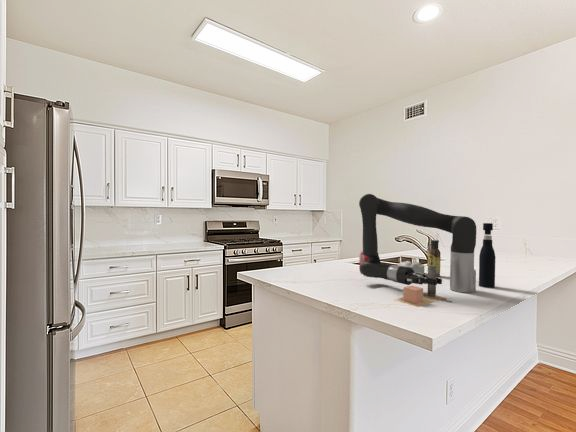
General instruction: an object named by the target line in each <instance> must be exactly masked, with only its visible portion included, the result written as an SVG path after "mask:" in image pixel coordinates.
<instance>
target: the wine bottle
mask: <svg viewBox="0 0 576 432" xmlns="http://www.w3.org/2000/svg"><path fill="white" fill-rule="evenodd" d="M493 229H494V223H493V222H492V223H489V222H487V223H485V222H483V223H482V230H483V231H484V235H483V239H482V246H481V249H480V252H479V255H478V257H479V260H478V261H479V262H478V263H479V264H478V287H480V288H481V287H482V288H487V289H494V288H495V287H496V253H495V249H494V247H493V237H492V231H494V230H493Z"/></svg>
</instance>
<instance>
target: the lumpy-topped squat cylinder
mask: <svg viewBox="0 0 576 432" xmlns="http://www.w3.org/2000/svg"><path fill="white" fill-rule="evenodd" d="M397 265H399V266H404V267H410V268H412V269H413V270H414V272H415V273H416V272H419V273H422V274H423V273H425V264H422V263H421V262H419V261H412V262H411V261H410V260H406V261H401V262H398V263H397Z"/></svg>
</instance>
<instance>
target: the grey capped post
mask: <svg viewBox="0 0 576 432" xmlns="http://www.w3.org/2000/svg"><path fill="white" fill-rule="evenodd" d="M427 274H428V278H430V279H435V280H436V278H437V277H436V266H434V265H428V264H427ZM436 291H437V285H430V284H427V292H424V291H423V302H420V303H417V304H414V303H411V302H407V301H403V297H400V298H395V299H394V301H396V302H399V303H403V304H406V305H409V306H413V307H417V308H419V307H423V306H425V305H429V304H432V303H435V302H438V301H443V302H446V300H447V297H445V296H441V295H437V292H436ZM447 301H448V300H447Z"/></svg>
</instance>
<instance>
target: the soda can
mask: <svg viewBox="0 0 576 432" xmlns="http://www.w3.org/2000/svg"><path fill="white" fill-rule="evenodd" d="M368 261H369V259H368V256H365V255H364V254H363V250H362V251H360V254H359V263H358V265H359V266H358V267H359V272H360V273H361V271H360V266H361V264H362V263H364V262H368Z"/></svg>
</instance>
